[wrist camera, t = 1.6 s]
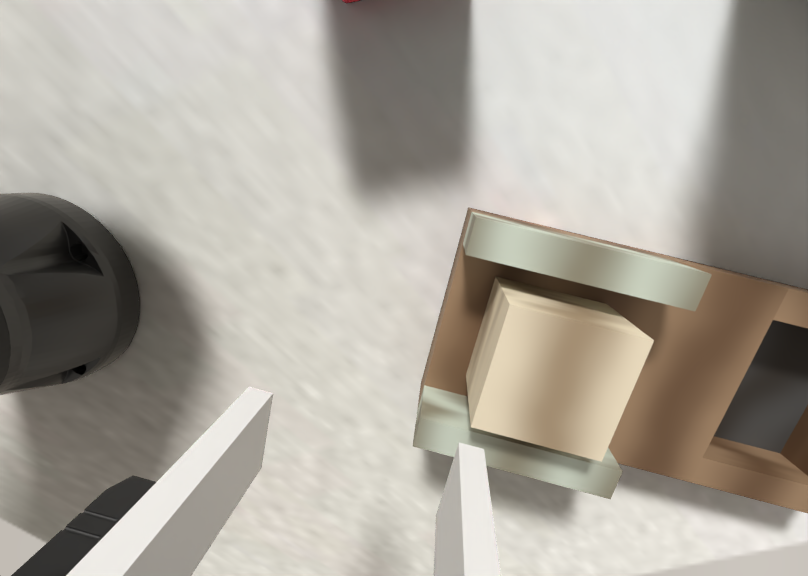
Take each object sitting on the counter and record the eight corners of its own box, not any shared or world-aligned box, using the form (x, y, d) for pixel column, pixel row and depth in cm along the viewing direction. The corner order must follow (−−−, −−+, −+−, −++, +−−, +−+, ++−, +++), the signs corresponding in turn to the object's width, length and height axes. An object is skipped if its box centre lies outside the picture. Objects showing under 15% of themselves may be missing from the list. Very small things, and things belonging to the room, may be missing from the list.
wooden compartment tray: (421, 382, 32) (412, 446, 24) (468, 207, 28) (475, 217, 21) (790, 479, 31) (904, 577, 23) (891, 309, 27) (1066, 360, 20)
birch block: (465, 375, 27) (470, 427, 21) (495, 276, 25) (509, 304, 20) (568, 401, 27) (601, 461, 21) (606, 304, 25) (654, 340, 19)
